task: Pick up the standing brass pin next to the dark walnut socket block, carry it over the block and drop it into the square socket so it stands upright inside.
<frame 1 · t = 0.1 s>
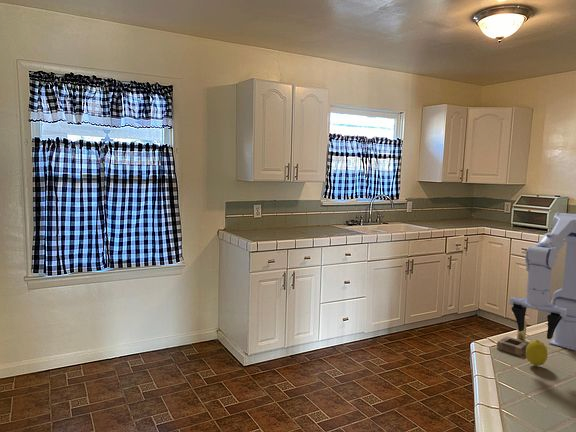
hand: (535, 334, 127), 10 cm above the counter, tool pointing down, fingers open, 7 cm apart
socket block: (512, 349, 140), on the counter
brass pin: (520, 345, 144), on the counter
lemon: (535, 367, 128), on the counter
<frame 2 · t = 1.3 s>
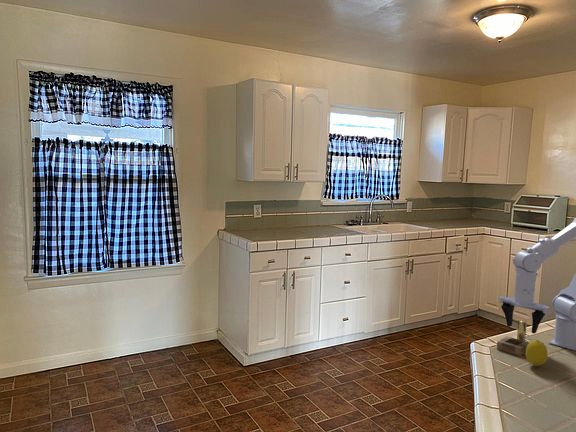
hand: (521, 329, 144), 5 cm above the counter, tool pointing down, fingers open, 7 cm apart
nothing on the counter moved.
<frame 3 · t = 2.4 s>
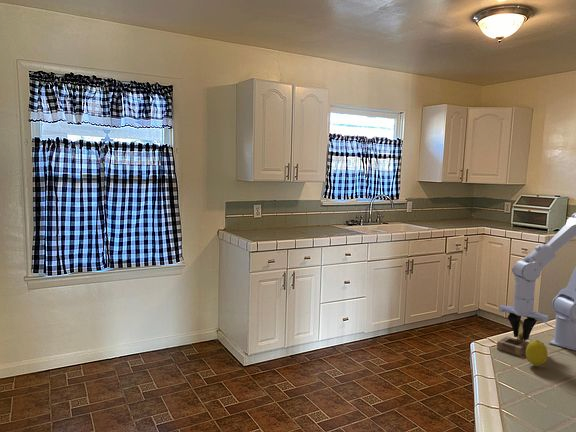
hand: (521, 337, 144), 2 cm above the counter, tool pointing down, fingers closed on brass pin, 2 cm apart
brass pin: (520, 345, 144), on the counter, touching gripper
everything else where it was.
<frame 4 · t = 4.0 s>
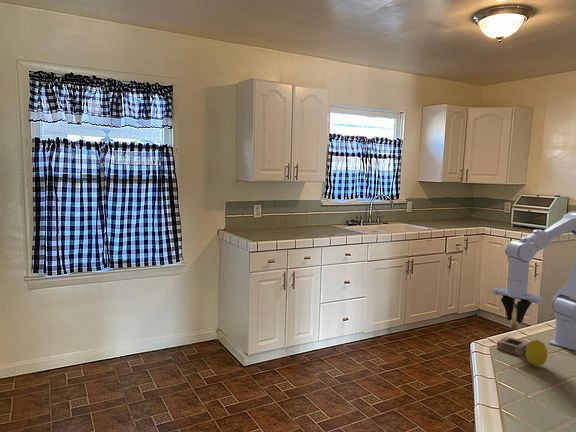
hand: (514, 321, 140), 9 cm above the counter, tool pointing down, fingers closed on brass pin, 2 cm apart
brass pin: (514, 328, 140), point 7 cm above the counter, touching gripper
everything else where it was.
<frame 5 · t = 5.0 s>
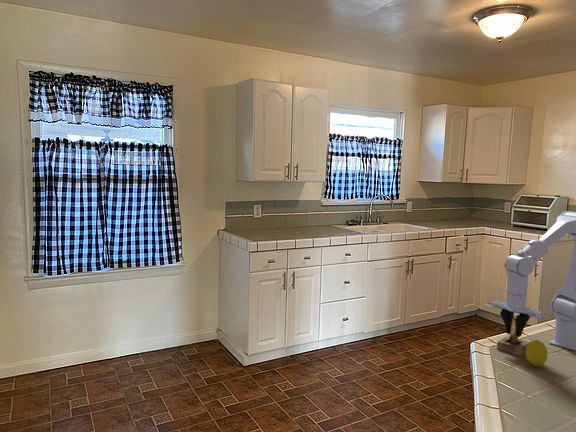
hand: (513, 334, 140), 5 cm above the counter, tool pointing down, fingers closed on brass pin, 2 cm apart
brass pin: (513, 341, 140), point 3 cm above the counter, touching gripper
everything else where it was.
when the fingers open (3 cm above the counter, at t = 5.7 s): brass pin stays where it is, resting in socket block.
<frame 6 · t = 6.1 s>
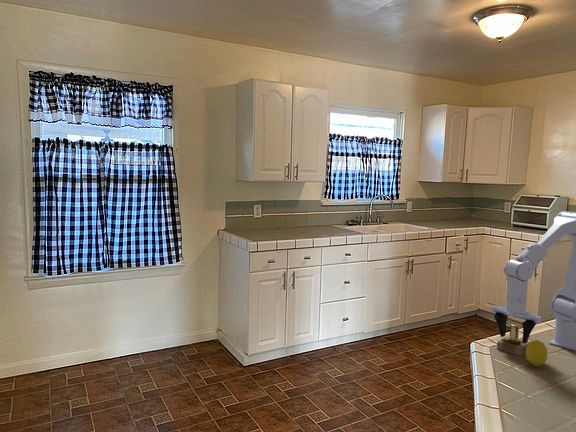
hand: (513, 339, 140), 3 cm above the counter, tool pointing down, fingers open, 6 cm apart
brass pin: (513, 349, 140), resting in socket block
everything else where it was.
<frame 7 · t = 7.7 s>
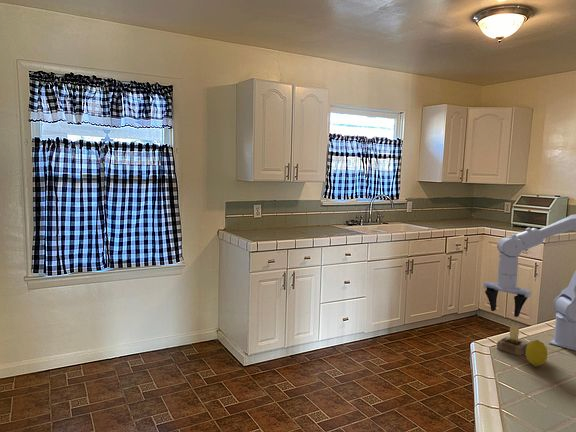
hand: (504, 313, 147), 9 cm above the counter, tool pointing down, fingers open, 7 cm apart
nothing on the counter moved.
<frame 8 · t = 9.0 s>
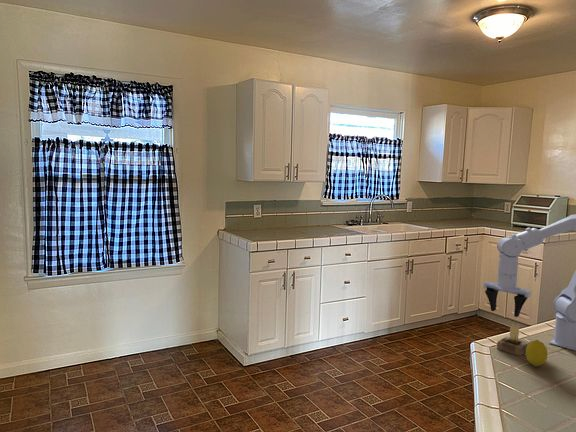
hand: (504, 313, 147), 9 cm above the counter, tool pointing down, fingers open, 7 cm apart
nothing on the counter moved.
at the end: brass pin 0.0 cm off-centre on the socket block, point 0.0 cm above the socket block's base; brass pin tilted 0°; the gripper is holding nothing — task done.
